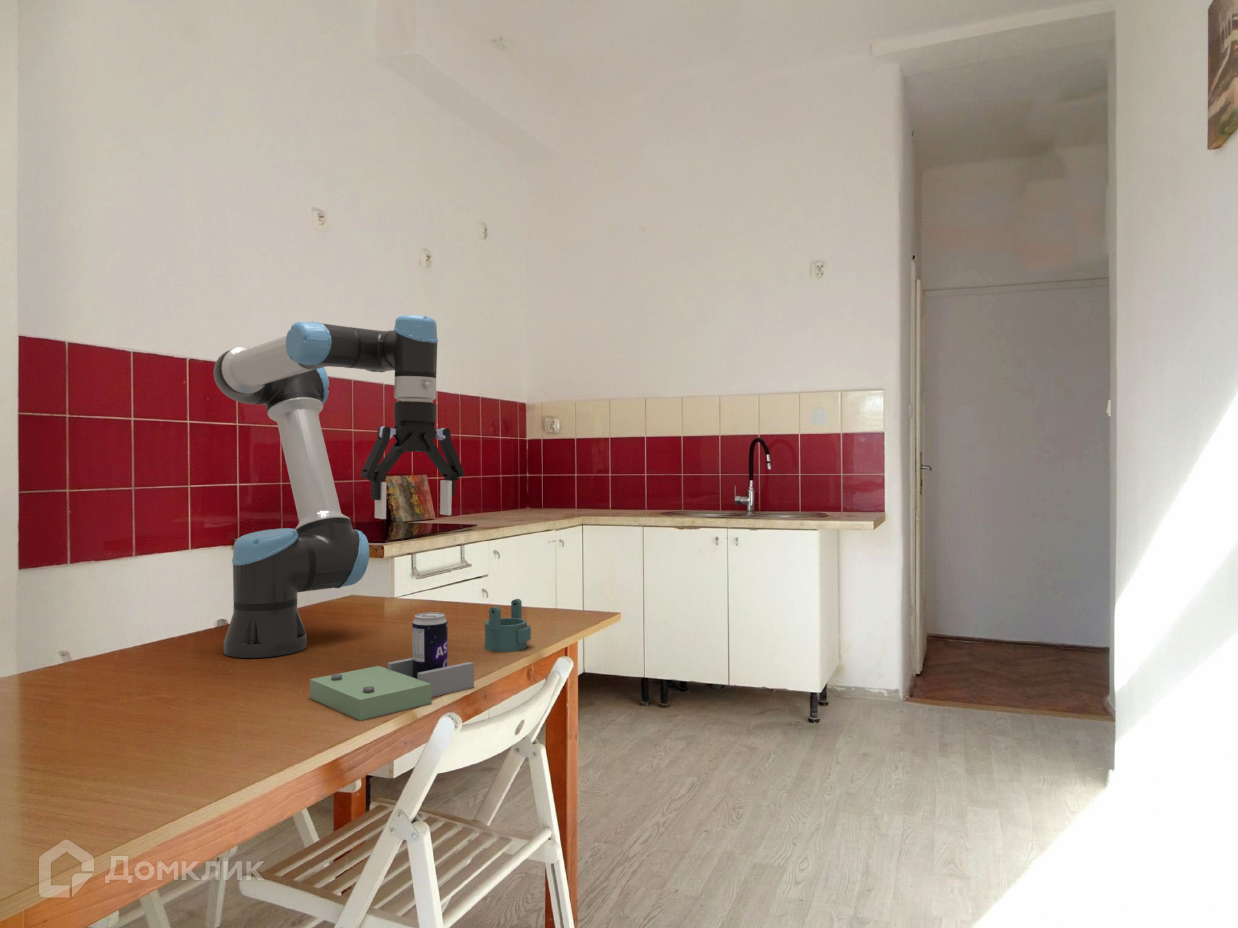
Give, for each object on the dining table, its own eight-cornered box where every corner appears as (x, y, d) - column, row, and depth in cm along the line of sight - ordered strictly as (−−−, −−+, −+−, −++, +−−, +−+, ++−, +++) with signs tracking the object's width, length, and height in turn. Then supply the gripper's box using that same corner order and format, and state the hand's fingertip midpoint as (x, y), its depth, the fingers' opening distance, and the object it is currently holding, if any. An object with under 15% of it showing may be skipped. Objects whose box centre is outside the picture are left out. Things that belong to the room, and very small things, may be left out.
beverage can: (439, 692, 137) (439, 618, 137) (406, 690, 138) (406, 617, 138) (452, 683, 143) (452, 612, 142) (421, 681, 144) (421, 611, 144)
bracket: (489, 654, 164) (490, 608, 164) (480, 643, 172) (481, 599, 172) (535, 650, 167) (535, 605, 167) (524, 640, 176) (524, 597, 175)
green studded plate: (309, 698, 134) (309, 672, 134) (429, 672, 150) (429, 650, 149) (360, 720, 123) (360, 692, 123) (484, 690, 138) (484, 666, 138)
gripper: (362, 397, 144) (360, 521, 145) (483, 403, 161) (481, 514, 162) (341, 398, 149) (340, 518, 150) (461, 404, 167) (459, 511, 167)
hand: (413, 516), depth 156 cm, fingers open, 13 cm apart
